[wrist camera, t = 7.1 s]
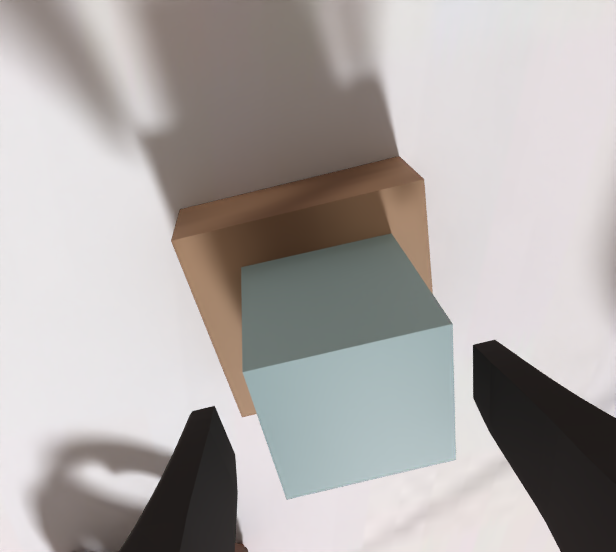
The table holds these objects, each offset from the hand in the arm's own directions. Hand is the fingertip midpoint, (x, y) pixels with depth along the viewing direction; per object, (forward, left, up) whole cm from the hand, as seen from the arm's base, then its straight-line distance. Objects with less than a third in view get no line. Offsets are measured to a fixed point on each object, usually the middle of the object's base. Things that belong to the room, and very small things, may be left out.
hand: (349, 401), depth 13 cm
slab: (0, 0, -7) cm, 7 cm away
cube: (0, 0, -4) cm, 4 cm away
